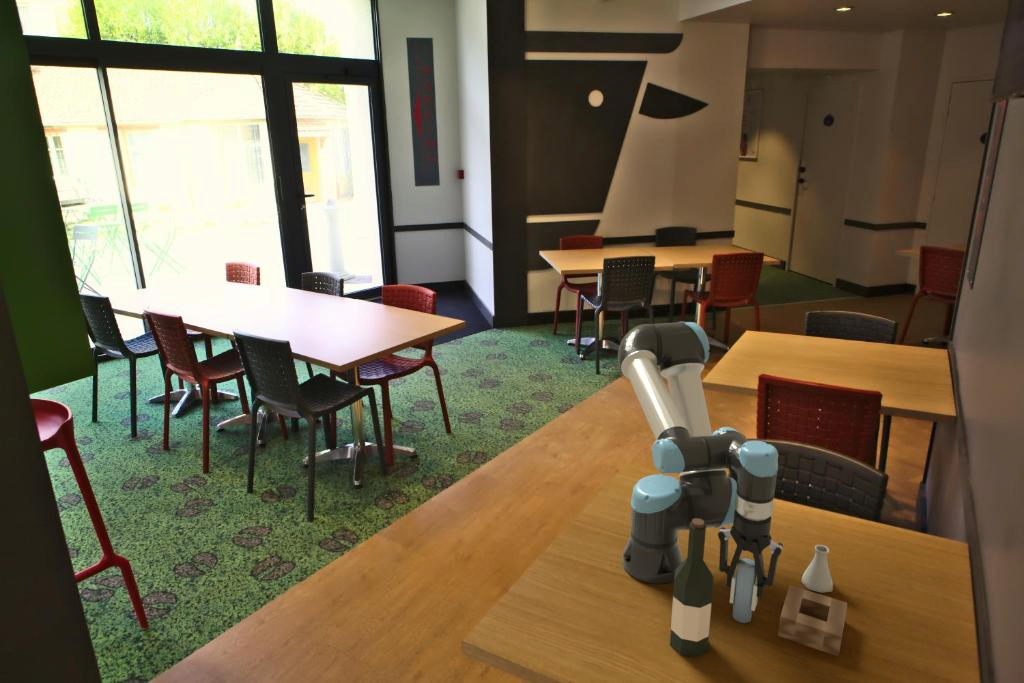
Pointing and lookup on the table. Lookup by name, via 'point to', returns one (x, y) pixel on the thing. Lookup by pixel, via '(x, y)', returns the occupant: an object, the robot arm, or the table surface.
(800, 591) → the bore block
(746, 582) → the dowel
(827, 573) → the flask
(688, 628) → the wine bottle
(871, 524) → the table surface
